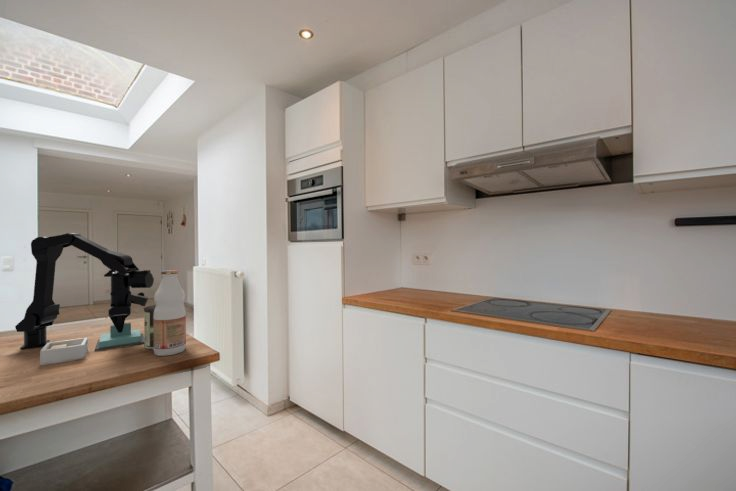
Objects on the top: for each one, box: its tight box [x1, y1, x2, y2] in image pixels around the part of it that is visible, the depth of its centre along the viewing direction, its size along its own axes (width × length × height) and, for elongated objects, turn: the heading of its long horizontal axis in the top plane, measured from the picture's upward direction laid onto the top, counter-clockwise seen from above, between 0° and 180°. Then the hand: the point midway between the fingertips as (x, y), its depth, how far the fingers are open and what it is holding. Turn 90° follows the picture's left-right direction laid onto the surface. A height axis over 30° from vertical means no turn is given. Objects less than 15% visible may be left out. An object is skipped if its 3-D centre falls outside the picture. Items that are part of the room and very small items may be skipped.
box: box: [39, 337, 89, 366], centre depth 103 cm, size 10×10×4 cm
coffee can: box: [143, 304, 156, 350], centre depth 116 cm, size 10×10×14 cm
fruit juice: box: [153, 269, 187, 357], centre depth 108 cm, size 9×9×28 cm
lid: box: [98, 322, 141, 348], centre depth 119 cm, size 12×12×6 cm
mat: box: [94, 332, 144, 352], centre depth 119 cm, size 14×14×1 cm
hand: (120, 329), depth 119 cm, fingers open, 9 cm apart
